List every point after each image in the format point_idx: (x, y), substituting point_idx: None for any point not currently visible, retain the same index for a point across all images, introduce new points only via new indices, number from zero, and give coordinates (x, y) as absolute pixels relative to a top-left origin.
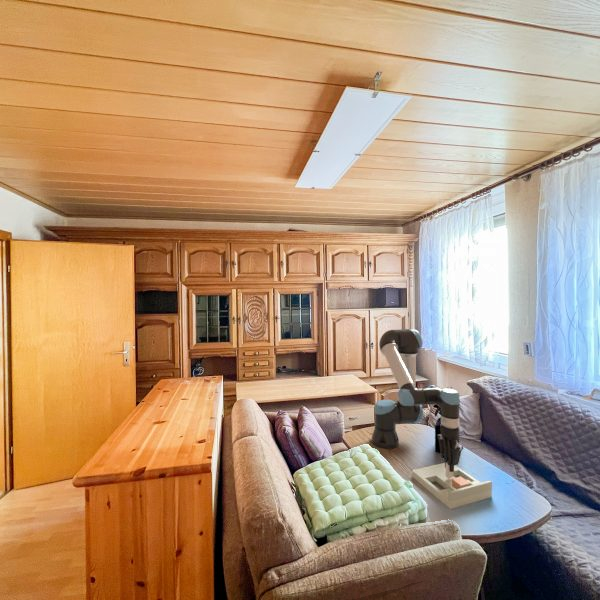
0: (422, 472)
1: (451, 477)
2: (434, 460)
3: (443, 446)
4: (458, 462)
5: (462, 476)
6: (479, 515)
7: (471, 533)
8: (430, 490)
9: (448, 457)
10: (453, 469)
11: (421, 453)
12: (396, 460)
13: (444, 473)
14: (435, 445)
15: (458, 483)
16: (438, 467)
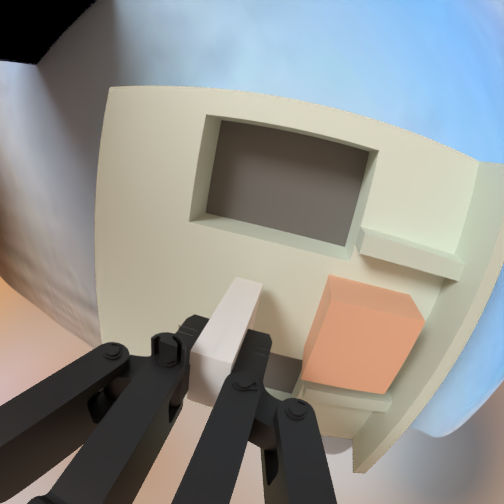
0: (130, 350)
1: (259, 299)
2: (63, 122)
3: (37, 451)
4: (318, 435)
5: (255, 124)
6: (461, 358)
7: (447, 434)
8: None
9: (167, 414)
10: (268, 356)
11: (18, 139)
12: (29, 288)
13: (185, 259)
14: (11, 59)
15: (361, 389)
16: (120, 226)
